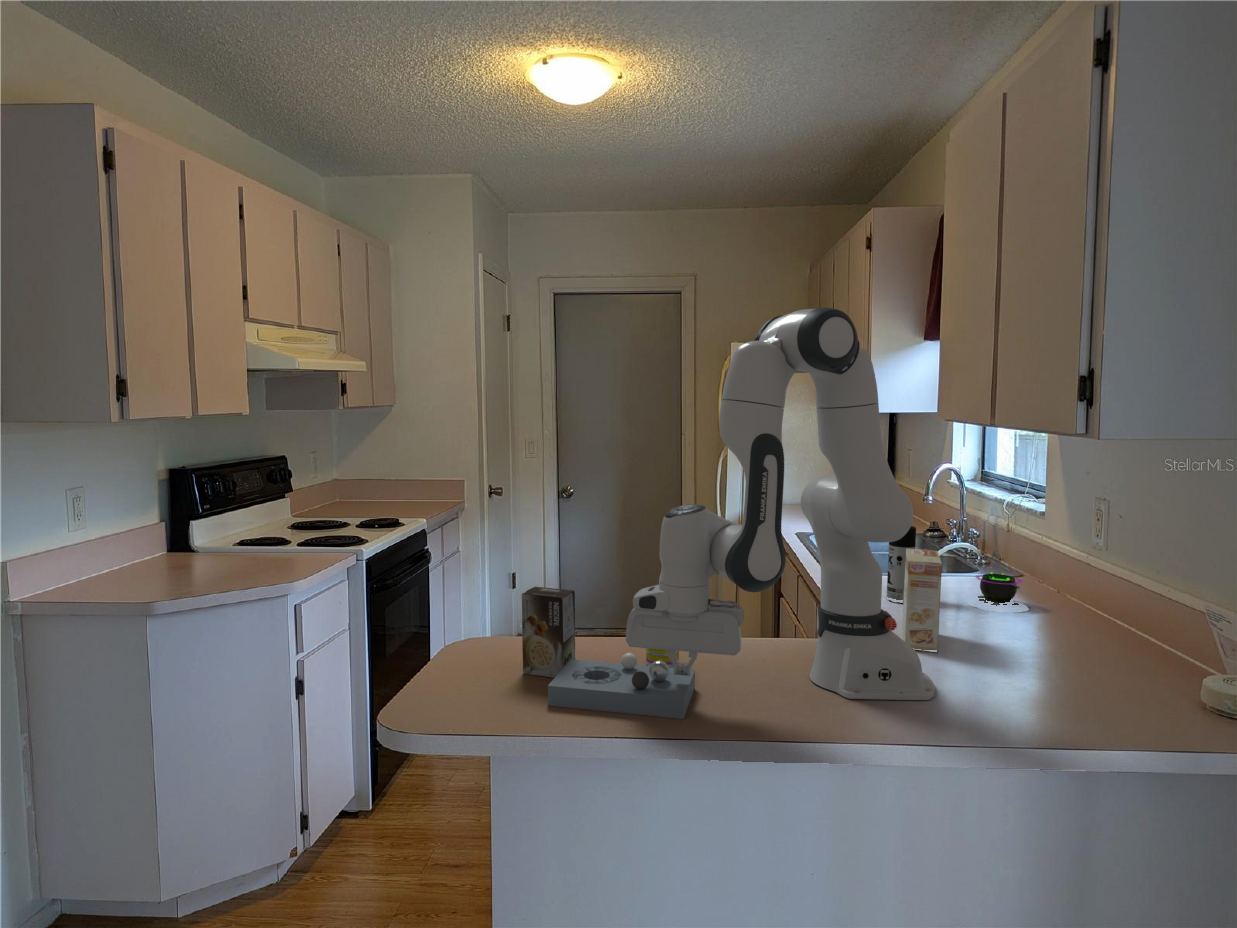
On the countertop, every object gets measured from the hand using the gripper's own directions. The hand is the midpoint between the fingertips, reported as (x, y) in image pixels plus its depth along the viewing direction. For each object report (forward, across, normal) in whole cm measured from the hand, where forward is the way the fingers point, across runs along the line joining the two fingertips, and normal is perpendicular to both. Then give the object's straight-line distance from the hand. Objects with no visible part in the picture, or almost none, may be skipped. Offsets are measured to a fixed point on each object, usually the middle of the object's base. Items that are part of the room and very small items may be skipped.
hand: (682, 674), depth 138 cm
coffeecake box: (+5, -46, -47) cm, 66 cm away
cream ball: (0, +11, -5) cm, 12 cm away
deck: (+5, +11, 0) cm, 12 cm away
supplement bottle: (+5, +7, -18) cm, 20 cm away
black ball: (0, +7, +4) cm, 8 cm away
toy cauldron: (+5, -71, -84) cm, 110 cm away
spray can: (+5, -47, -82) cm, 94 cm away
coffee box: (+6, +28, -9) cm, 30 cm away
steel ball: (0, +4, 0) cm, 4 cm away
